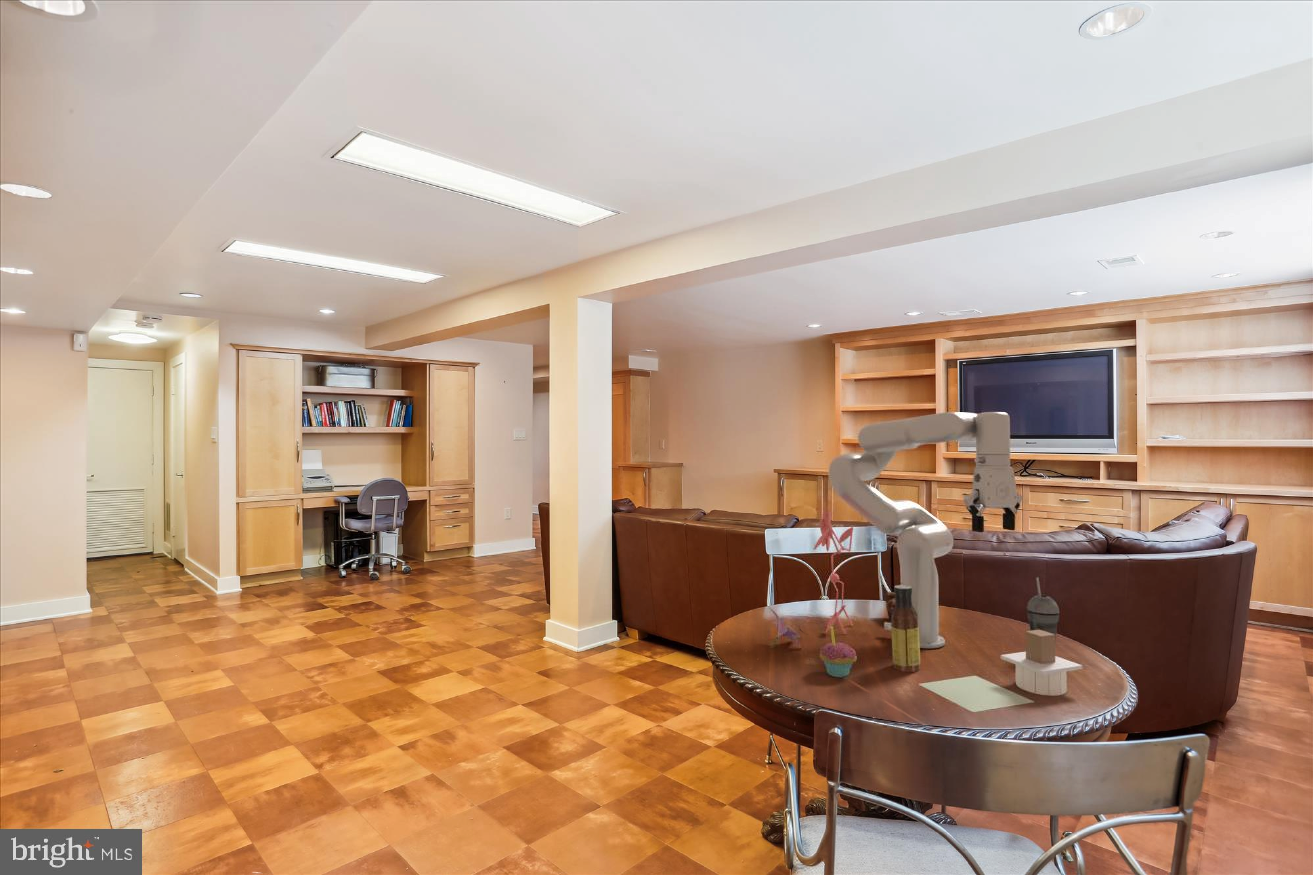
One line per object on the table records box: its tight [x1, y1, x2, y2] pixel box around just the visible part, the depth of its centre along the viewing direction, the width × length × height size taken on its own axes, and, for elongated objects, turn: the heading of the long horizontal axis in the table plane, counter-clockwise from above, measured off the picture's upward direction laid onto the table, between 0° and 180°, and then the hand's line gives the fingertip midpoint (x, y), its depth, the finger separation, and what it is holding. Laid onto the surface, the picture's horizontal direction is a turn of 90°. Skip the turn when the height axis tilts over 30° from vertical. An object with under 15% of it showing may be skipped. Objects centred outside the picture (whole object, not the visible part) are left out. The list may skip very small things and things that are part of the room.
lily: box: [769, 607, 802, 649], centre depth 175 cm, size 12×12×10 cm
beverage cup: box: [1026, 577, 1061, 643], centre depth 166 cm, size 7×7×20 cm
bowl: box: [1015, 664, 1068, 697], centre depth 145 cm, size 10×10×6 cm
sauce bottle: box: [890, 584, 921, 673], centre depth 158 cm, size 6×6×20 cm
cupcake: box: [819, 624, 858, 678], centre depth 155 cm, size 9×8×12 cm
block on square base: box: [1000, 630, 1083, 675], centre depth 145 cm, size 11×11×7 cm
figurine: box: [807, 507, 858, 635], centre depth 194 cm, size 15×26×35 cm, turn 152°
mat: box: [918, 675, 1035, 713], centre depth 142 cm, size 16×16×1 cm
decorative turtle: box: [884, 591, 895, 621], centre depth 199 cm, size 10×15×8 cm, turn 27°
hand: (993, 530), depth 164 cm, fingers open, 9 cm apart
